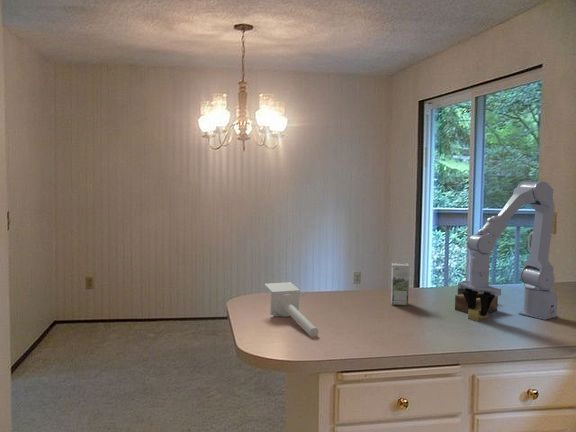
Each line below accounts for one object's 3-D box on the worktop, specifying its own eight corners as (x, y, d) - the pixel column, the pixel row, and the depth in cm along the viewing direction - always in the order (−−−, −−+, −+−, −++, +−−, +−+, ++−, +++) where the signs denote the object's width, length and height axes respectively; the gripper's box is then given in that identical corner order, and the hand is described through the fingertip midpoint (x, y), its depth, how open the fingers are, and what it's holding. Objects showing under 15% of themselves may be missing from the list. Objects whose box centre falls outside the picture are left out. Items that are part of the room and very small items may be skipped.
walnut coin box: (474, 305, 195) (474, 291, 194) (497, 310, 187) (497, 296, 187) (454, 309, 188) (455, 295, 188) (477, 315, 181) (478, 300, 181)
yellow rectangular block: (477, 316, 180) (478, 306, 180) (487, 318, 178) (488, 308, 177) (467, 319, 176) (468, 309, 176) (477, 321, 174) (478, 311, 173)
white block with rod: (290, 282, 185) (330, 316, 155) (289, 307, 186) (327, 345, 157) (264, 283, 182) (299, 319, 152) (263, 309, 183) (297, 349, 154)
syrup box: (406, 302, 198) (407, 262, 197) (408, 306, 193) (409, 264, 192) (390, 301, 199) (391, 261, 198) (391, 305, 193) (392, 264, 192)
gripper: (452, 269, 179) (451, 311, 180) (492, 276, 168) (490, 320, 168) (466, 267, 183) (464, 308, 184) (505, 274, 172) (504, 317, 173)
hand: (478, 314), depth 177 cm, fingers open, 4 cm apart
